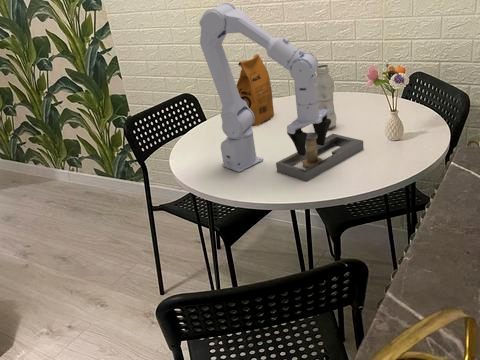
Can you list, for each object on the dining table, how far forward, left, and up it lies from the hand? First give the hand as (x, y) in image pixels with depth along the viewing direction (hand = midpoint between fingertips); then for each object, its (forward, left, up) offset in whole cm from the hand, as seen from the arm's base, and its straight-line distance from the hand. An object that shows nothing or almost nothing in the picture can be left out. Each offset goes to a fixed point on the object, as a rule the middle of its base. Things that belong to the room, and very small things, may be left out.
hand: (311, 149), depth 138 cm
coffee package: (+18, +42, -5) cm, 46 cm away
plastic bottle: (+24, +15, -5) cm, 29 cm away
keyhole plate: (+5, 0, -5) cm, 7 cm away
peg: (+1, +1, -5) cm, 5 cm away
